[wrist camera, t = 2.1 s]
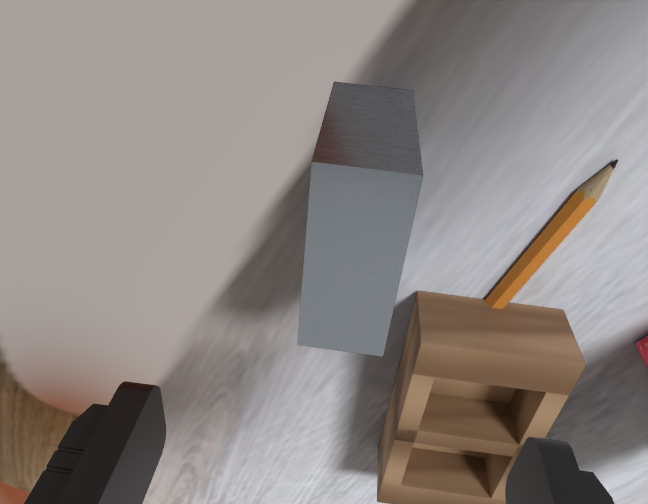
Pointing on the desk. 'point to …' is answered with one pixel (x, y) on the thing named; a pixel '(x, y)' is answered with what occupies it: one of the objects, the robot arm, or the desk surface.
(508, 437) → the wooden cubby shelf
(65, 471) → the robot arm
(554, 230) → the pencil
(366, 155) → the tall grey rectangular prism
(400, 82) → the desk surface
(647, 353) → the ink box
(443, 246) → the desk surface
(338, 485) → the desk surface
